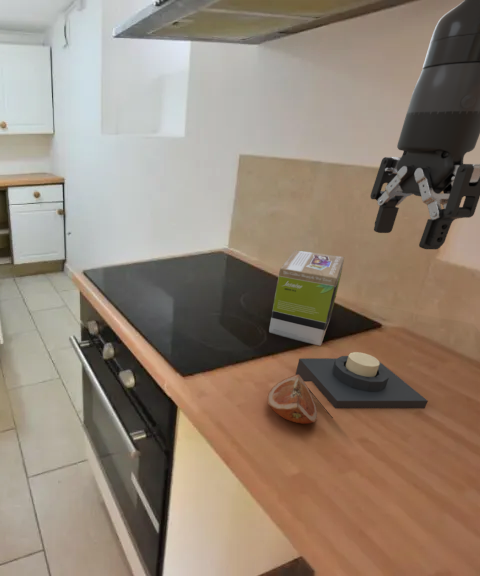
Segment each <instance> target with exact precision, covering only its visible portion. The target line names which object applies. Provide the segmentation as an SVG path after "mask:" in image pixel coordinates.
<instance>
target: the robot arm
mask: <svg viewBox="0 0 480 576" xmlns="http://www.w3.org/2000/svg"><path fill="white" fill-rule="evenodd" d="M427 48H428V49H427V52H426V55H425V59H424V61H423V65H422V70H421V72H420V75H419V76H418V79H417V81H416V84H415V86H414V88H413V91H412V94H411V97H410V101H409V104H408V107H407V111H406V115H405V117H404V118H405V119H404V120H403V124H402V127H401V131H400V135H399V138H398V140H397V141H398V142H397V144H396V148H397V150H399V151H403V153H402V155H401V156H400V157H398V156H385V157H383V158H382V159H381V161H380V165H379V167H378V171H377V174H376V177H375V180H374V183H373V186H372V189H371V191H370V192H371V193H370V199H371V200H375V201H377V206H379V208H378V210H377V214H376V217H375V221H374V226H373V231H374V232H376V233H378V234H390V233H391V232H392V231H393V228H394V226H395V223H396V222H395V221H396V218H397V215H398V212H399V209H400V207H398V206H399V205H400V204H401V203H402V202H403V201H404V200H405V199H406V198H407V197H411V196H417V197H421V201H422V203H423V204H425V205H426V206H427V210H428V214H429V218H428V219H427V221H426V224H425V226H424V230H423V232H422V234H421V238H420V241H419V243H418V246H419V248H421V249H424V250H439V249H440V248H441V247H443V245H444V244H445V242H446V239H447V236H448V233H449V232H450V228H451V226H452V223H453V222H454V221H455V220H458V219H468V218H472V217H473V216H475V212H476V210H477V206H478V203H479V201H480V163H464V157H465V155H466V154H467V153H470V152H472V151H473V150H474V149H475V148H476V146H477V143H478V140H479V139H480V138H479V137H480V0H463V1H462V2H460V3H459V4H458V5H457V6H455V7H454V8H452V9H450V10H449V11H448V12H445V14H443V16H441V18H440V19H439V20H438V22H437V23H436V25H435V27H434V30H433V32H432V36H431V38H430V42H429V45H428V47H427ZM384 184H386V186H385V188H384V189H385V190H382V189H383V187H384ZM442 192H443V193H442ZM464 197H465V198H464ZM463 198H464V201H463V204H462V206H461V203H462V200H463ZM442 207H443V208H442Z"/></svg>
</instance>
